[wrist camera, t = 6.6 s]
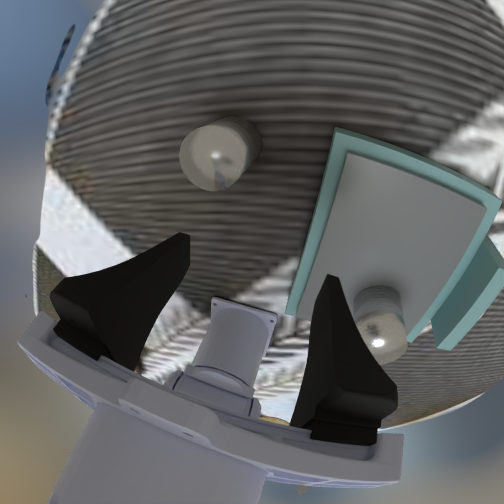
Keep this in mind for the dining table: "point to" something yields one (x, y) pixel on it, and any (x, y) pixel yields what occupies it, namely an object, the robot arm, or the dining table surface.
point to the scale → (469, 268)
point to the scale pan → (391, 236)
